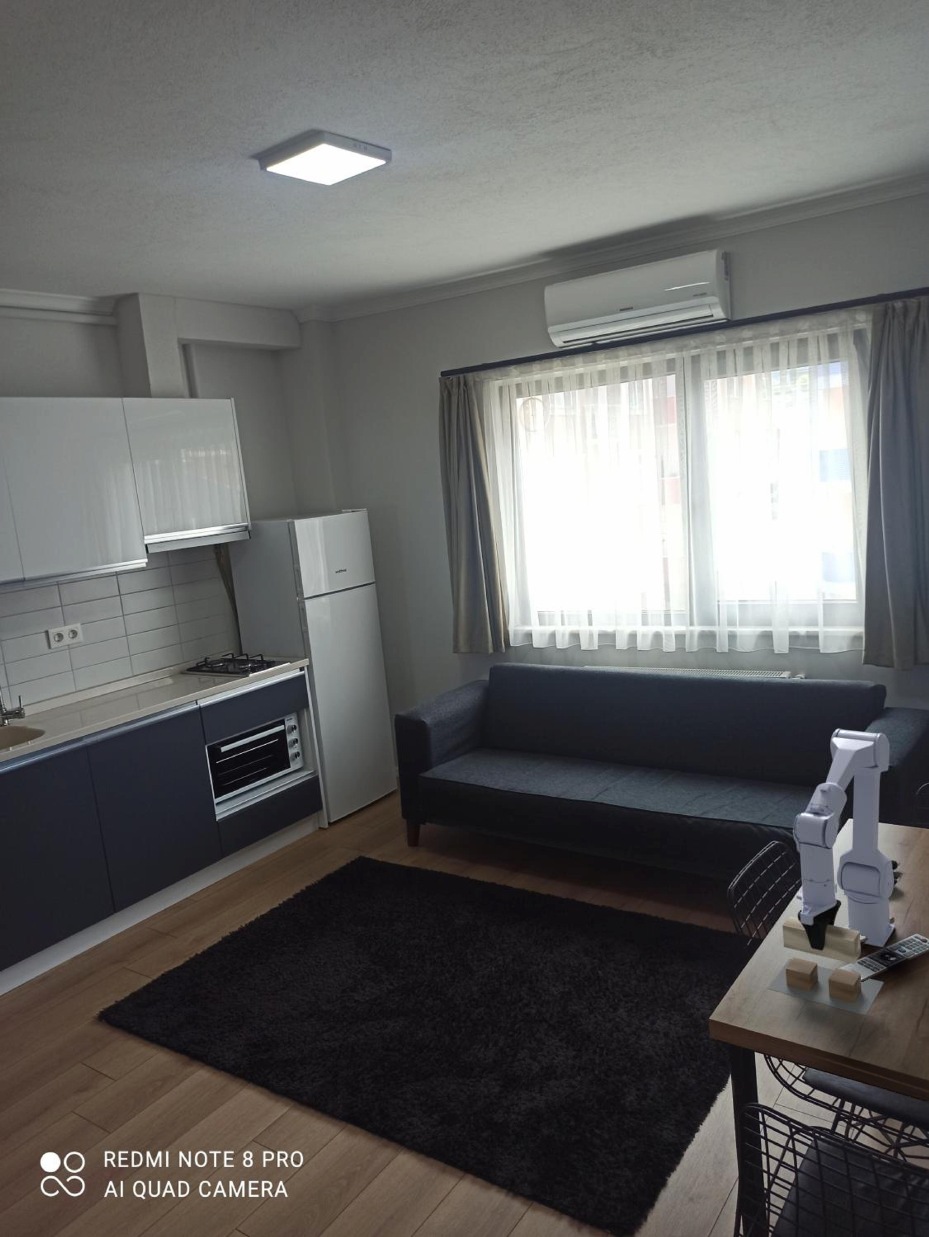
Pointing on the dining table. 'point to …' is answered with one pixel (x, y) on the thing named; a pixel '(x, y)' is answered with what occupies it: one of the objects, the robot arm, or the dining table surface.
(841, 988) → the block
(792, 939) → the plank
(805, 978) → the block
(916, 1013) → the dining table surface
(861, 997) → the mat
